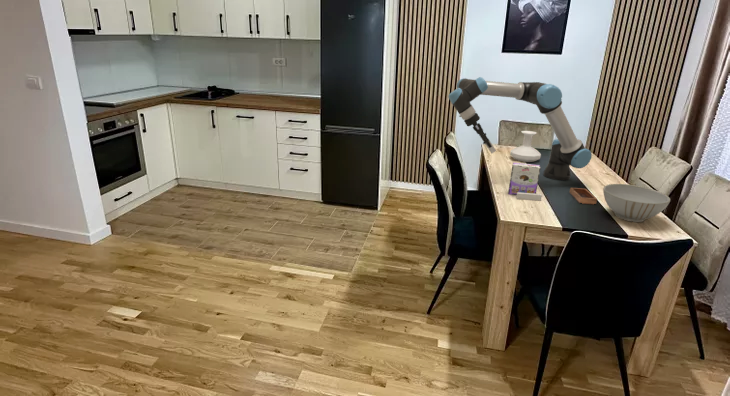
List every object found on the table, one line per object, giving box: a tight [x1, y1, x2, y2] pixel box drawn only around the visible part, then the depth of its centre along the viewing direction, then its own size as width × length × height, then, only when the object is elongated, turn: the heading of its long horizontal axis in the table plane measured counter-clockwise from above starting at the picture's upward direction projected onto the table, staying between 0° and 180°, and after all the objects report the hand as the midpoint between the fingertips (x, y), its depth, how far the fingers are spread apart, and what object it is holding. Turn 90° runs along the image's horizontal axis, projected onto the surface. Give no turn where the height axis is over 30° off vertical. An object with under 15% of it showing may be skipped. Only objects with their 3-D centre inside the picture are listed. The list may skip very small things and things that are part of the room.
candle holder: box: [509, 130, 542, 163], centre depth 290 cm, size 20×20×19 cm
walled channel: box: [515, 192, 543, 201], centre depth 225 cm, size 12×16×3 cm
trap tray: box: [569, 187, 598, 205], centre depth 222 cm, size 8×16×3 cm, turn 173°
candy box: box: [507, 162, 541, 196], centre depth 223 cm, size 14×6×16 cm, turn 71°
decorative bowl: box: [602, 183, 671, 223], centre depth 199 cm, size 27×27×12 cm
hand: (492, 149), depth 223 cm, fingers open, 13 cm apart
